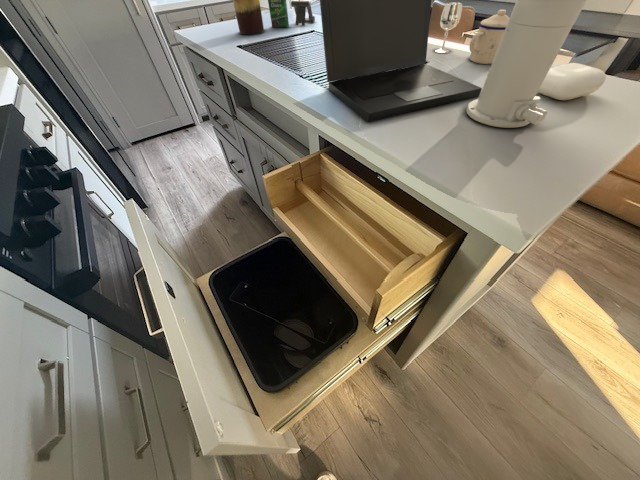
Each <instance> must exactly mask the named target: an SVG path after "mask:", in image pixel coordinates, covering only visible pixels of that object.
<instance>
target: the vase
mask: <svg viewBox="0 0 640 480" xmlns="http://www.w3.org/2000/svg"><path fill="white" fill-rule="evenodd" d="M232 1H233V7H234V13H235V16H236V21H237V27H238V31H239V34H240V35H244V36H253V35H259V34H262V33H264V32H265V28H264V21H263V15H262V7H261V2H260V1H261V0H232Z"/></svg>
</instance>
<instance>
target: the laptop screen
mask: <svg viewBox="0 0 640 480" xmlns="http://www.w3.org/2000/svg"><path fill="white" fill-rule="evenodd" d="M319 6H320V17H321V19H320V20H321V28H322V39H323V50H324V61H325V72H326V82H327V83H329V82H332V81H337V80H343V79H348V78H354V77H359V76H364V75H370V74H375V73H380V72H386V71H391V70H397V69H402V68H407V67H413V66H418V65H423V64H427V56H428V55H427V54H428V44H429V43H428V42H429V33H430V32H429V31H430V22H431V21H430V19H431V9H432V0H319Z"/></svg>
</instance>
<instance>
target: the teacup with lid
mask: <svg viewBox="0 0 640 480" xmlns="http://www.w3.org/2000/svg"><path fill="white" fill-rule="evenodd" d="M506 13H507V10H506V9H499V10H497V14H493V15H491V16H490V17H488V18H485V19H482V20H481V21H480V22H479V27H478V31H477V33H475V34H474V35H472V37H471V39H470V42H469V51H470V56H469V60H470V61H471V62H473V63H476V64H480V65H492V62H493V60H494V57H495V54H496V52H497V49H498V47H499V44H500V41H501V39H502V36H503V34H504V31H505V28H506V26H507V23H508V21H509V19H510V16H509V15H507V14H506Z"/></svg>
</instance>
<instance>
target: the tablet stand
mask: <svg viewBox="0 0 640 480" xmlns="http://www.w3.org/2000/svg"><path fill="white" fill-rule="evenodd" d="M290 6H291V8H293V9H294V13H295V26H299V24H300V23H301V26H305V25H306V23H311V24H312V23H313V24H314V23H315V22H316V18H315V17H316V16H314V14H313V11H312V5H311V1H310V0H291V1H290ZM306 12H307V13H306ZM306 14H308V15H307V16H308V17H306Z"/></svg>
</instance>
